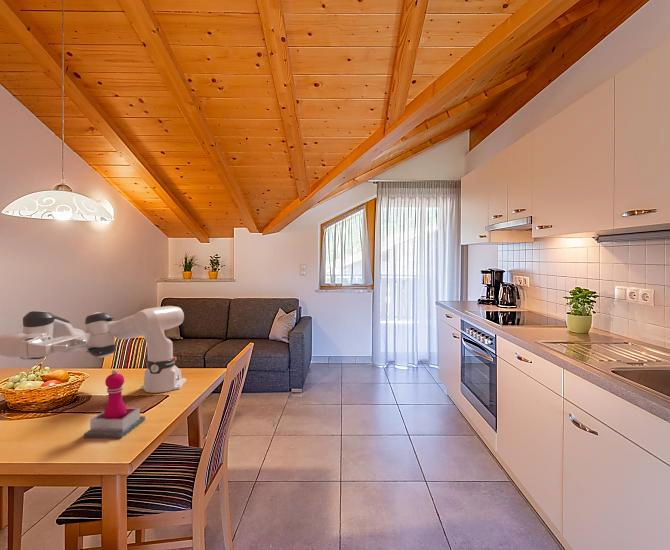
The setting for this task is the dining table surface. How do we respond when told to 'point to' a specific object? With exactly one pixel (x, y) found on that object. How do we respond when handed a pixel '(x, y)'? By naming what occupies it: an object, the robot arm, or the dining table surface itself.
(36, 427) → the dining table surface
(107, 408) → the pepper mill
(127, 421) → the socket stand
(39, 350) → the robot arm
